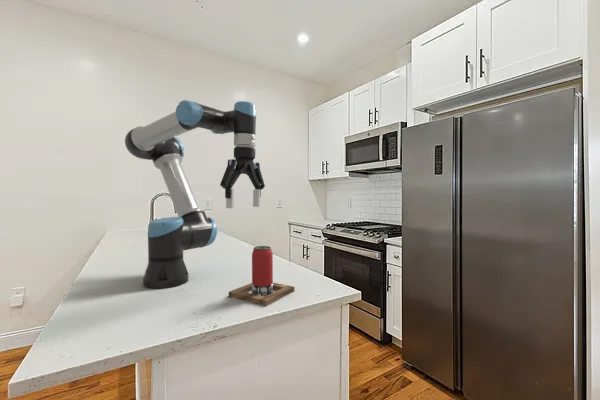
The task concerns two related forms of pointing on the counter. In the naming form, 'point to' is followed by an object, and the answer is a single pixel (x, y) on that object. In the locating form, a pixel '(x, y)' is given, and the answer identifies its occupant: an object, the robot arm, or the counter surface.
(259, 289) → the peg stand
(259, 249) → the beer can
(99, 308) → the counter surface
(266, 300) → the face frame
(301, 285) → the counter surface
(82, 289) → the counter surface
